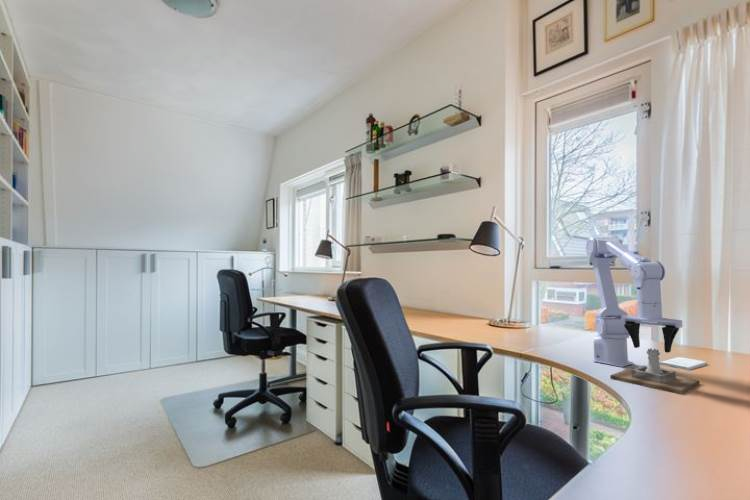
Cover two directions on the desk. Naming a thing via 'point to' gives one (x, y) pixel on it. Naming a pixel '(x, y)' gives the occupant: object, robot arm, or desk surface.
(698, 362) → the external hard drive
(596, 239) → the robot arm
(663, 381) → the socket board
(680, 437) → the desk surface
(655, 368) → the rook chess piece
